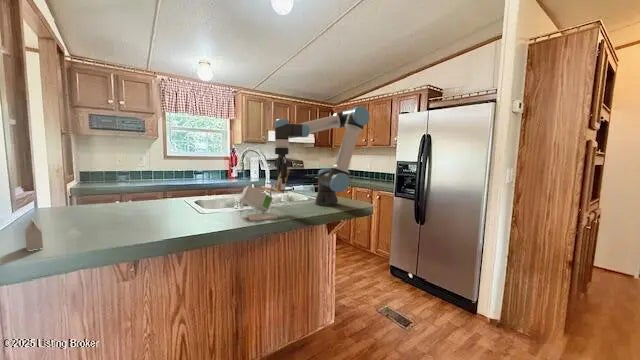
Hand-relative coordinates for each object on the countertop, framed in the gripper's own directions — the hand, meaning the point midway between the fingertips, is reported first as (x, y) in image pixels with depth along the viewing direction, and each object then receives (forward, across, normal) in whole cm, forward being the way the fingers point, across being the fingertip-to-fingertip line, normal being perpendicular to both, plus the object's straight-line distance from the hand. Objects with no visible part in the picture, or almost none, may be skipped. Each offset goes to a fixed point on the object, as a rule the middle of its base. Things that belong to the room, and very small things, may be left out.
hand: (281, 188), depth 155 cm
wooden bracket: (+1, 0, -5) cm, 6 cm away
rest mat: (+13, +10, -13) cm, 21 cm away
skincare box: (+9, 0, -8) cm, 12 cm away
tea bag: (+13, +27, -95) cm, 100 cm away
